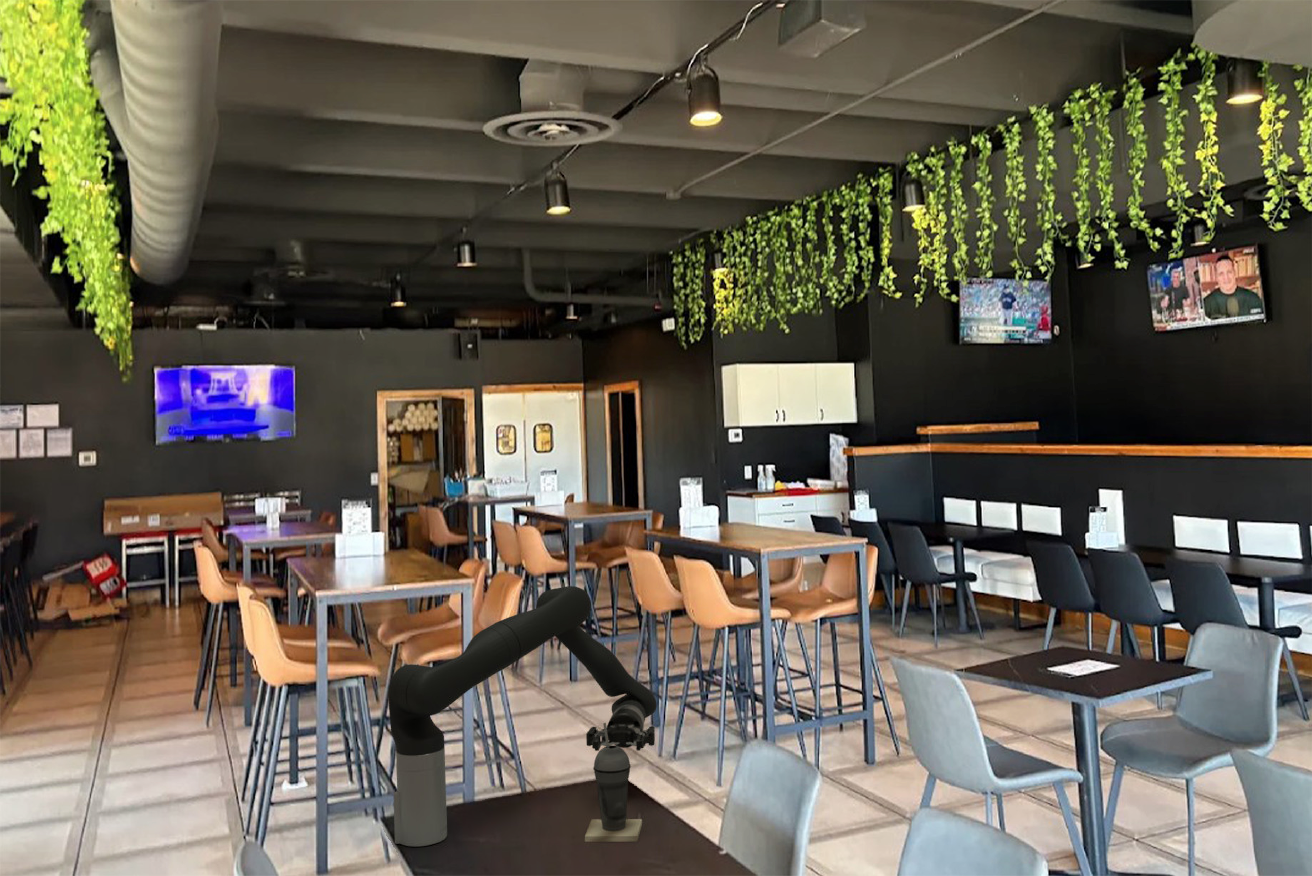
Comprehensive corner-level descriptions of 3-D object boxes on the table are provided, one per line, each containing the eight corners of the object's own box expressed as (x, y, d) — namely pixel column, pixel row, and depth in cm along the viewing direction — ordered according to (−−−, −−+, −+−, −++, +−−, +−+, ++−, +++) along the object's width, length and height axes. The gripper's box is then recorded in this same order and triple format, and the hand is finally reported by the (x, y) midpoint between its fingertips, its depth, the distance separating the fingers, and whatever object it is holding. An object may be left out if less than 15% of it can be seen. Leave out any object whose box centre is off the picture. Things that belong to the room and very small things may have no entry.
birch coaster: (584, 841, 193) (584, 836, 193) (591, 824, 202) (591, 819, 202) (637, 841, 192) (637, 836, 192) (642, 824, 201) (641, 819, 201)
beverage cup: (628, 834, 193) (624, 728, 193) (590, 833, 194) (587, 727, 195) (636, 821, 200) (632, 718, 201) (600, 819, 202) (597, 718, 202)
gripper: (593, 708, 225) (582, 727, 209) (657, 707, 224) (651, 727, 207) (594, 742, 225) (583, 764, 208) (658, 742, 223) (652, 764, 207)
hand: (617, 745), depth 208 cm, fingers open, 8 cm apart
